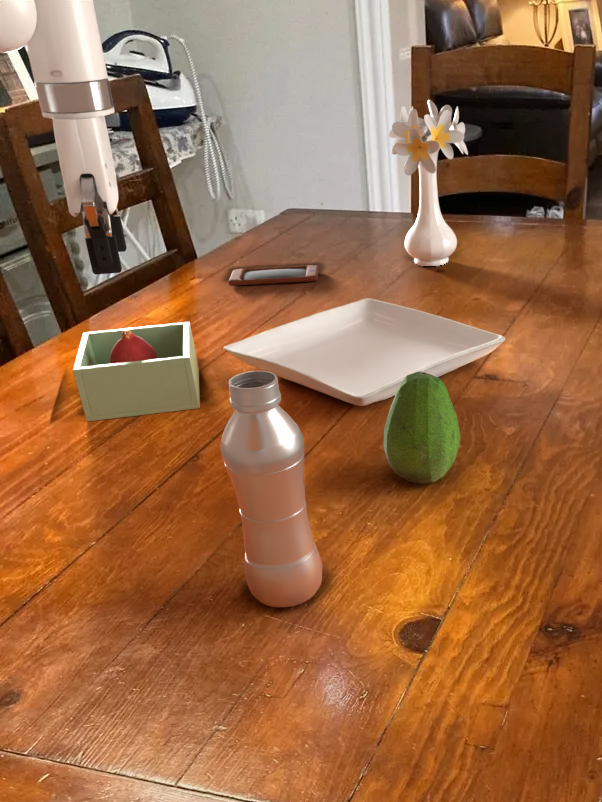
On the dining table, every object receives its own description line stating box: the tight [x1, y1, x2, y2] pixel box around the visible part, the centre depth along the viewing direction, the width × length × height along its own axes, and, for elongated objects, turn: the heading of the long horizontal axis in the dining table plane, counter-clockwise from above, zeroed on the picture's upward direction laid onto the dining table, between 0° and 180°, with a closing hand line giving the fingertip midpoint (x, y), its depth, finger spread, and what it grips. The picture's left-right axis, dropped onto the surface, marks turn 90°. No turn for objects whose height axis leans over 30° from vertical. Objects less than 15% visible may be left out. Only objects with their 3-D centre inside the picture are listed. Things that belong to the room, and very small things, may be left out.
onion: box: [110, 330, 158, 364], centre depth 118 cm, size 6×6×8 cm
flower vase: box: [388, 99, 469, 267], centre depth 158 cm, size 13×18×25 cm
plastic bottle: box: [219, 370, 323, 608], centre depth 76 cm, size 6×7×20 cm
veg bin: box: [72, 321, 201, 422], centre depth 119 cm, size 14×14×7 cm
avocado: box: [383, 371, 461, 485], centre depth 96 cm, size 8×8×12 cm
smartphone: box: [228, 264, 320, 286], centre depth 160 cm, size 7×1×15 cm
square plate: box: [223, 298, 506, 407], centre depth 125 cm, size 27×27×4 cm
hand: (110, 261), depth 111 cm, fingers open, 9 cm apart
